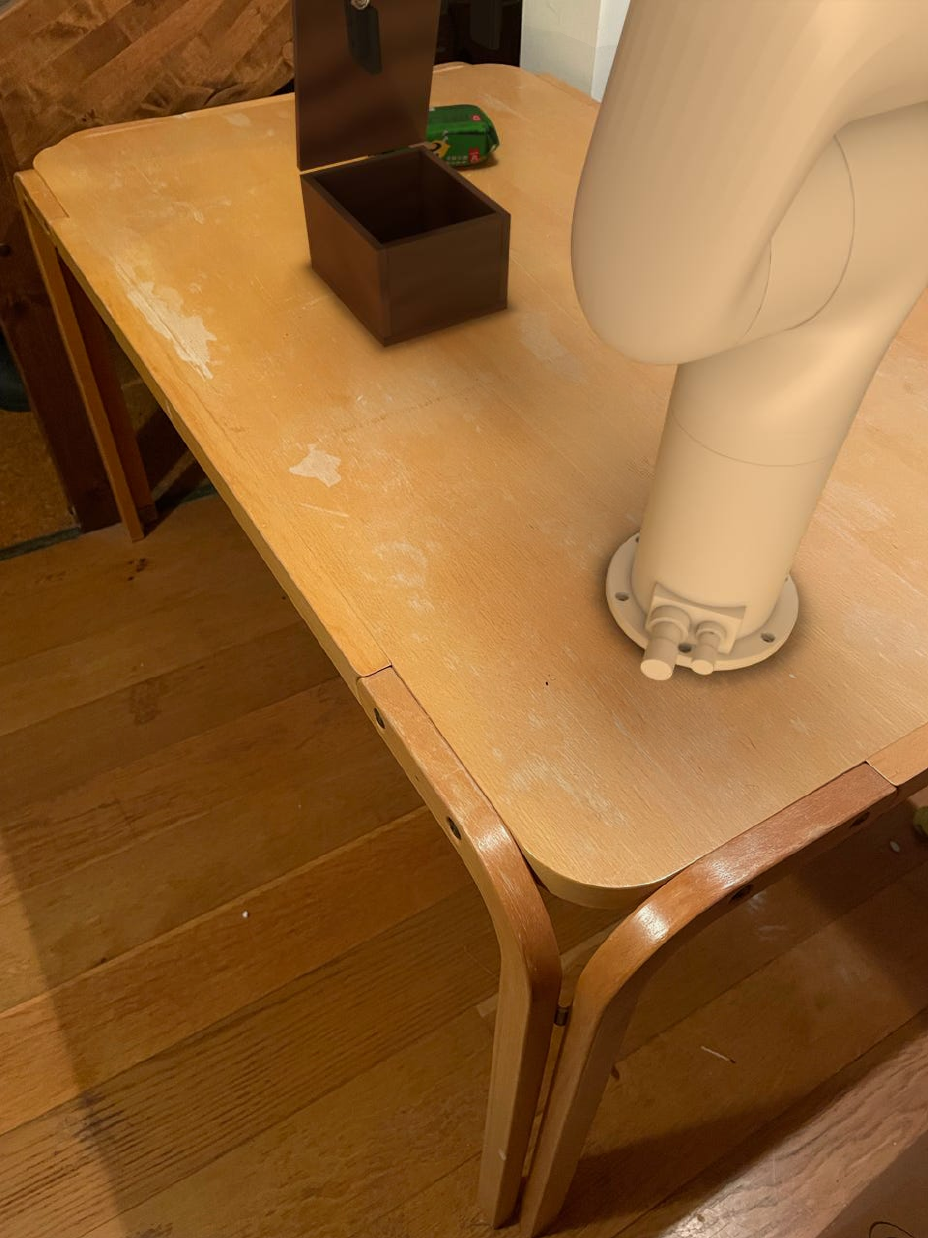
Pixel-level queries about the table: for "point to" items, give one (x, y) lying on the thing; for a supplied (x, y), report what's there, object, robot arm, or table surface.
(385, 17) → the lid
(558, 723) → the table surface
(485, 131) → the snack package
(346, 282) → the chest
